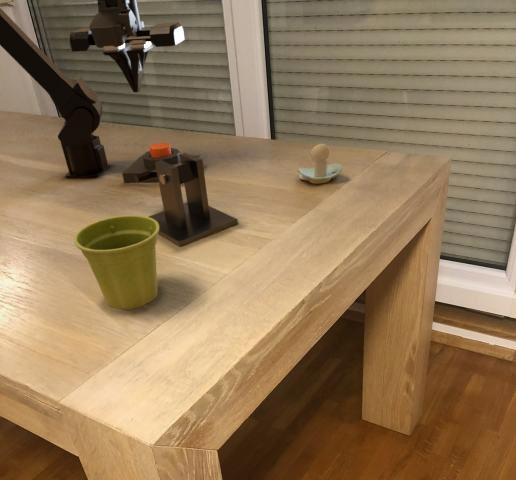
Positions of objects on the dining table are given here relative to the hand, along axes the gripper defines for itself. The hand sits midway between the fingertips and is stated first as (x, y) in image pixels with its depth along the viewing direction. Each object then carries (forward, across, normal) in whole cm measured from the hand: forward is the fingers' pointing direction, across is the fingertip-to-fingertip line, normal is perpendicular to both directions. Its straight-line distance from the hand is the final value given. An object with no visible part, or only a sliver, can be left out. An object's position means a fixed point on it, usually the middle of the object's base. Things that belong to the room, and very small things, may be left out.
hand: (136, 91), depth 100 cm
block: (+13, +5, -6) cm, 15 cm away
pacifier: (+13, +33, -8) cm, 36 cm away
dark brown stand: (+13, +16, -27) cm, 34 cm away
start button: (+9, +5, -6) cm, 12 cm away
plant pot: (+13, +15, -47) cm, 51 cm away
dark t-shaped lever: (+7, +13, -25) cm, 29 cm away
